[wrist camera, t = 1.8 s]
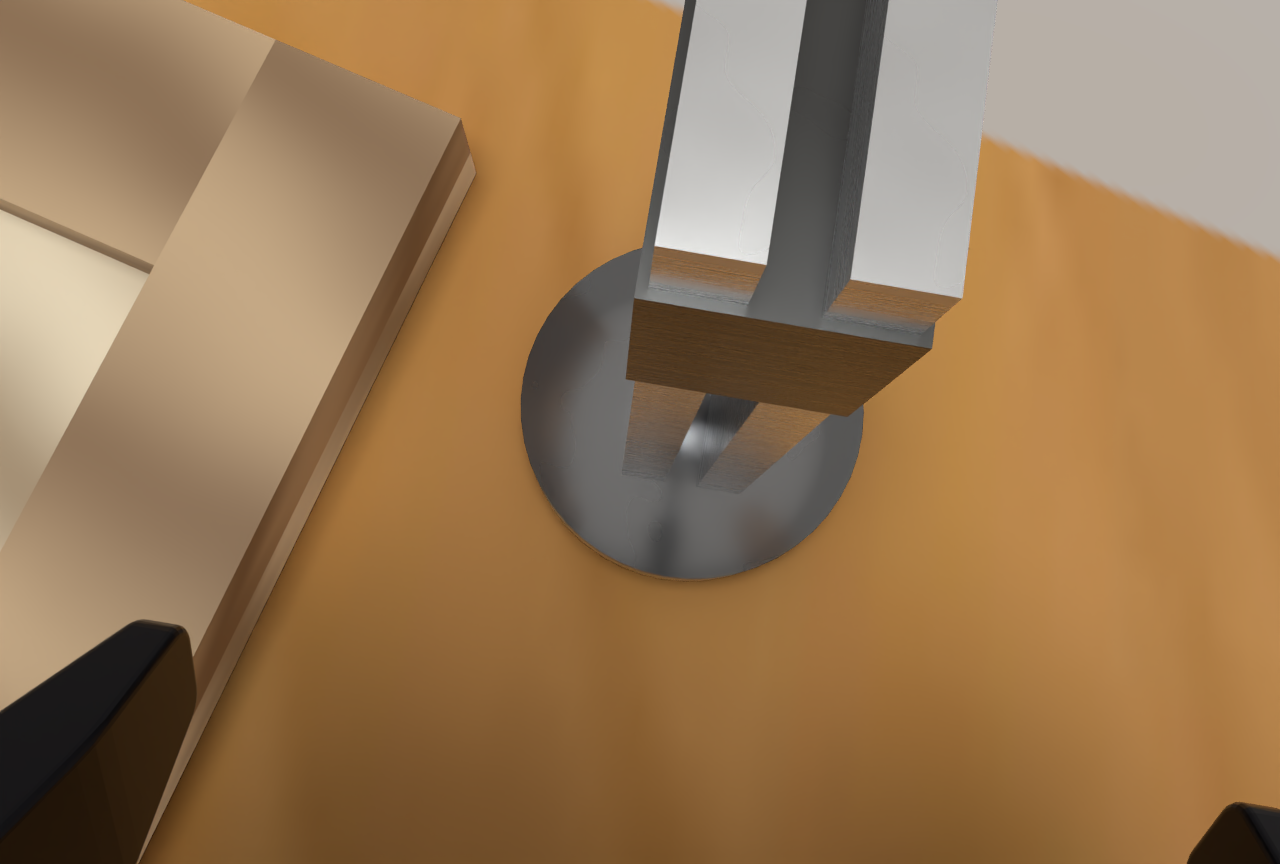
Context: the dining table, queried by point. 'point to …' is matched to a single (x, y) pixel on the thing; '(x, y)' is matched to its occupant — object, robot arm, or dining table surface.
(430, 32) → the dining table surface
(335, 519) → the dining table surface
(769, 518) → the round base pedestal
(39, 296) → the square wooden tray
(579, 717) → the dining table surface
